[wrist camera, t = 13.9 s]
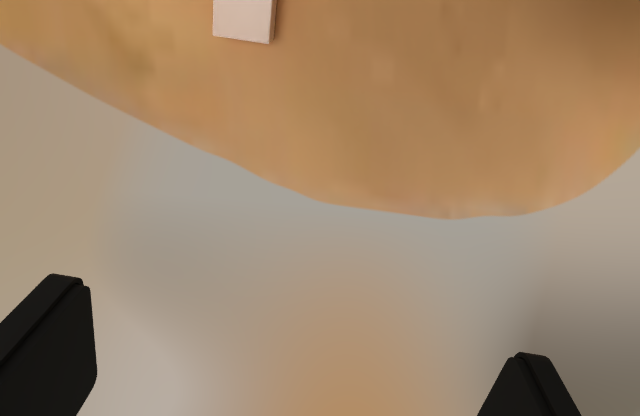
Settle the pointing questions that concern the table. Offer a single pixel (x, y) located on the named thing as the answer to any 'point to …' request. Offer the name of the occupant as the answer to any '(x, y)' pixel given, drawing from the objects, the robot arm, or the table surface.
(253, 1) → the lid
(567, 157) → the table surface
